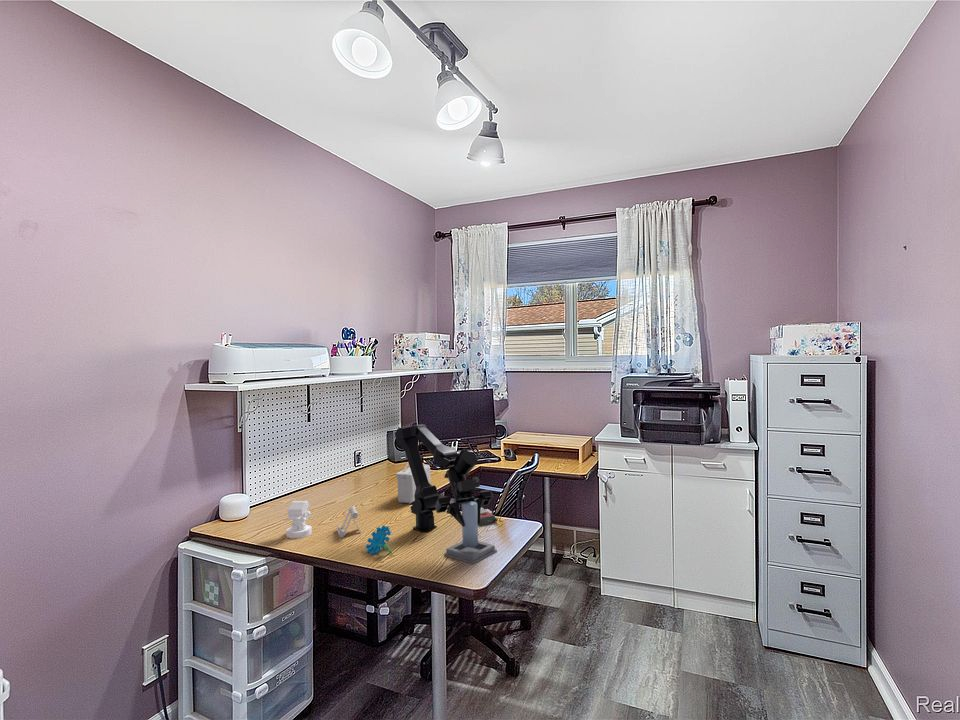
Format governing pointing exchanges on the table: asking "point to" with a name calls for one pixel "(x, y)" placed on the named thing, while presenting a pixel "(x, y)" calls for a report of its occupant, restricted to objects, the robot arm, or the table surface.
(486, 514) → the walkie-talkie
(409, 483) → the stereo radio cassette player
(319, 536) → the table surface
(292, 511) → the character figurine
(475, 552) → the grey square recessed dock
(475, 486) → the robot arm
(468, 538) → the blue-grey rounded knob
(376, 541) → the gear
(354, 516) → the portable electronic device stand
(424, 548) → the table surface
